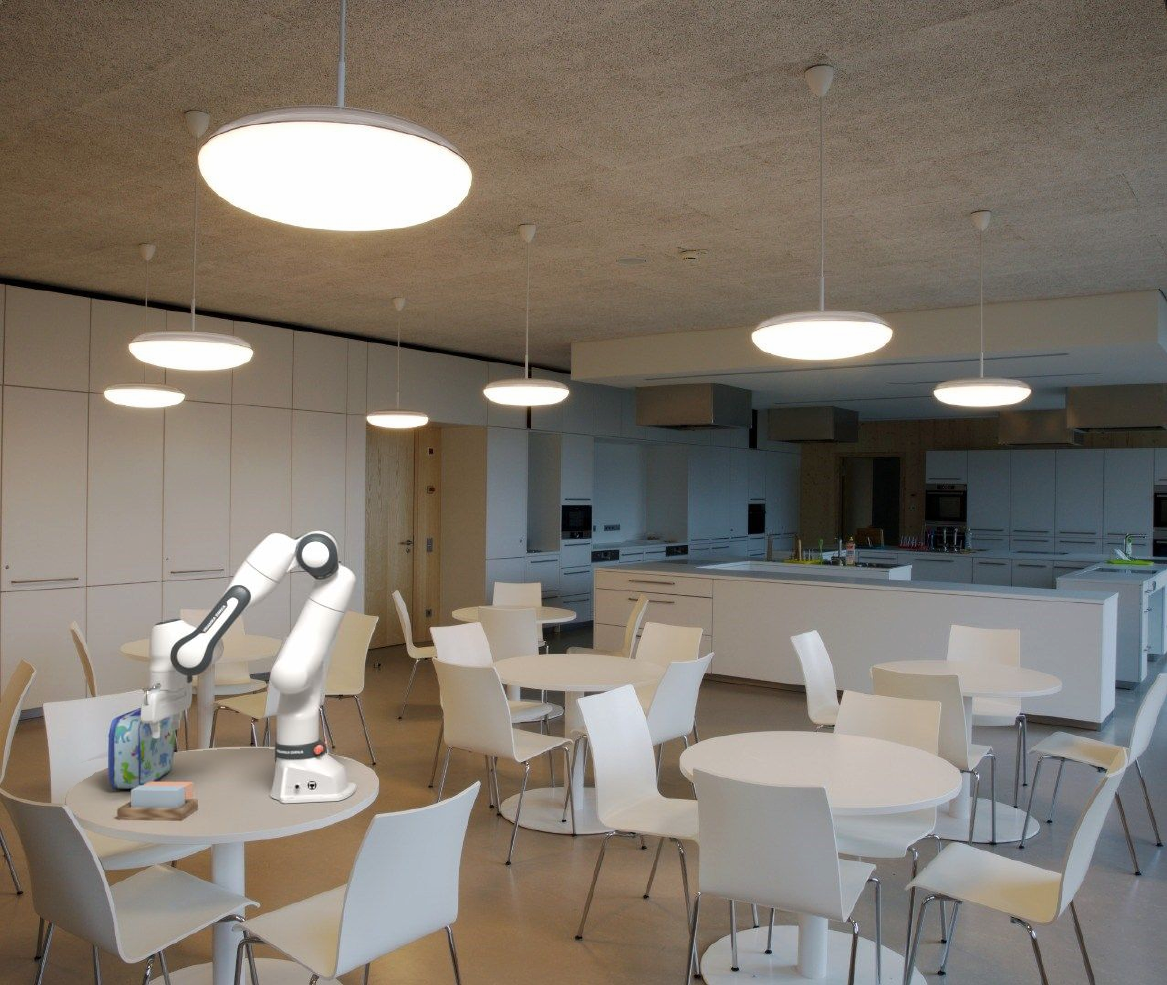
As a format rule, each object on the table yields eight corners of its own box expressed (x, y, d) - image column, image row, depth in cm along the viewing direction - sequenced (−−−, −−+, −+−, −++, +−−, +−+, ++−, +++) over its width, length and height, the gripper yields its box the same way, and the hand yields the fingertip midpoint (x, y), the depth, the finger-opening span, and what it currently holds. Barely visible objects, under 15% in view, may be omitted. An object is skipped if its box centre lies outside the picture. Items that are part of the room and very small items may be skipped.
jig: (197, 809, 239) (197, 799, 239) (181, 820, 231) (181, 809, 231) (135, 808, 240) (135, 798, 240) (117, 819, 232) (117, 808, 232)
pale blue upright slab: (184, 809, 237) (184, 786, 237) (176, 814, 233) (176, 790, 233) (139, 808, 238) (139, 785, 238) (130, 813, 234) (131, 789, 234)
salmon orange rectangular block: (193, 800, 247) (193, 781, 247) (185, 805, 243) (186, 786, 243) (149, 800, 248) (149, 781, 248) (141, 805, 244) (141, 785, 244)
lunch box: (142, 769, 278) (142, 698, 279) (179, 768, 279) (179, 698, 279) (102, 795, 252) (102, 717, 253) (142, 794, 253) (143, 716, 253)
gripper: (158, 688, 236) (157, 742, 235) (196, 674, 256) (196, 724, 256) (134, 687, 236) (133, 742, 236) (174, 674, 257) (173, 724, 256)
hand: (166, 733), depth 246 cm, fingers open, 8 cm apart
